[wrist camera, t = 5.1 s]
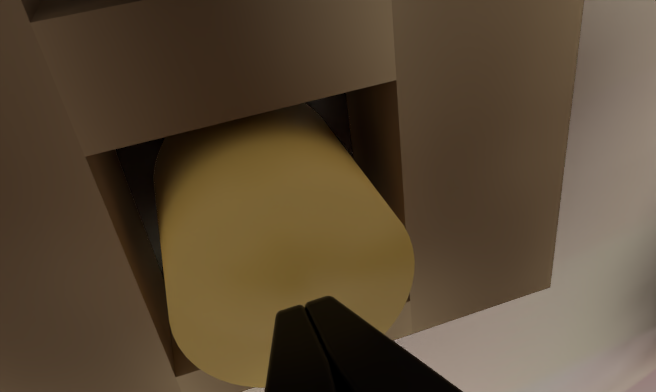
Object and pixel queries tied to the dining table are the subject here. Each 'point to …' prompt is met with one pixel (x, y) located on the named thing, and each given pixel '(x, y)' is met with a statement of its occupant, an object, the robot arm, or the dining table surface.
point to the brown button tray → (250, 99)
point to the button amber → (270, 236)
